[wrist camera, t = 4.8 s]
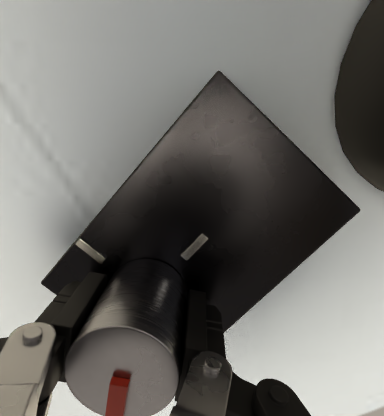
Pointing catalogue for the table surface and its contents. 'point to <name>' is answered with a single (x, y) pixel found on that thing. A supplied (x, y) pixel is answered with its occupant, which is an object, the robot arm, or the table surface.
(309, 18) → the table surface
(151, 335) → the knob
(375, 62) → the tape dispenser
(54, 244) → the table surface
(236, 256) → the panel
